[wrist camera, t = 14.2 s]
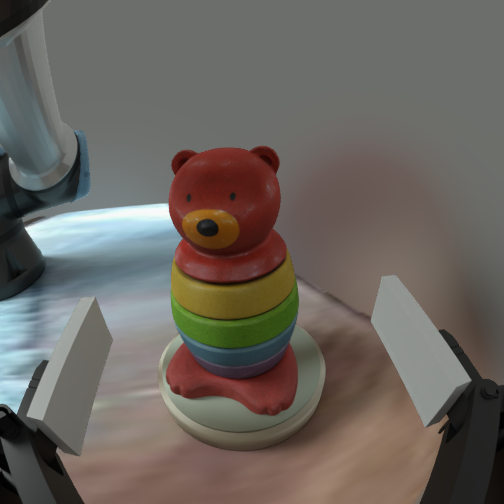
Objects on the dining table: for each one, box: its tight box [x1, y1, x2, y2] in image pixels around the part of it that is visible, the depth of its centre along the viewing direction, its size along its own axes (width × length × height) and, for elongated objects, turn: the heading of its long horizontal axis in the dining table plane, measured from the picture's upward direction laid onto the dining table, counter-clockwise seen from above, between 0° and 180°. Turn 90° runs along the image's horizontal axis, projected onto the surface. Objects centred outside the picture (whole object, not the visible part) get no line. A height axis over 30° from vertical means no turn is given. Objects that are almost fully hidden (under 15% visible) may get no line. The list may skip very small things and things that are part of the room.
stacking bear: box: [166, 146, 299, 416], centre depth 21 cm, size 11×10×18 cm
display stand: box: [158, 324, 326, 451], centre depth 26 cm, size 15×15×3 cm
